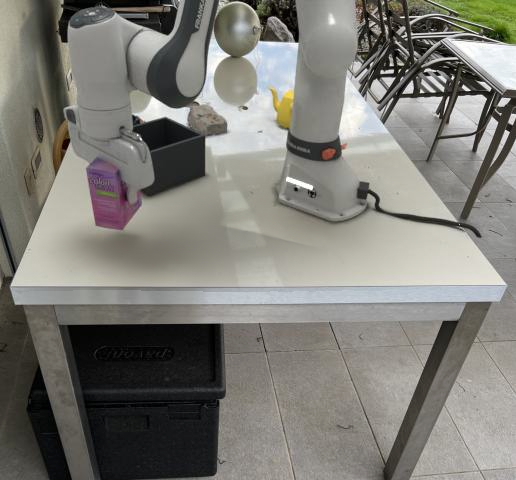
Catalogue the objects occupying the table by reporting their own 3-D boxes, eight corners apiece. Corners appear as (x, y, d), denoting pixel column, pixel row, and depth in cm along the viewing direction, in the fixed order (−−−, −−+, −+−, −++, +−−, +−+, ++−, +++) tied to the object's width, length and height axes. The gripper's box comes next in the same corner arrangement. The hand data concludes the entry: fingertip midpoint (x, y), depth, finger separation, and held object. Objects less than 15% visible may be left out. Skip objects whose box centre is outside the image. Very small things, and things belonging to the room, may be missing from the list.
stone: (232, 124, 150) (198, 123, 146) (228, 142, 154) (195, 142, 150) (218, 99, 157) (185, 97, 153) (214, 117, 161) (183, 116, 157)
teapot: (283, 136, 155) (287, 99, 148) (264, 119, 163) (267, 84, 156) (323, 131, 160) (329, 95, 153) (303, 116, 168) (308, 81, 161)
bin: (205, 175, 133) (205, 135, 126) (149, 196, 123) (146, 154, 116) (167, 155, 139) (165, 116, 133) (111, 174, 129) (106, 132, 123)
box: (123, 231, 100) (115, 171, 92) (95, 226, 101) (84, 167, 93) (143, 205, 108) (137, 148, 100) (116, 201, 109) (108, 144, 101)
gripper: (159, 132, 89) (165, 207, 98) (87, 99, 98) (98, 170, 108) (129, 142, 85) (137, 219, 95) (57, 106, 95) (71, 179, 104)
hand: (116, 193), depth 101 cm, fingers closed on box, 7 cm apart
